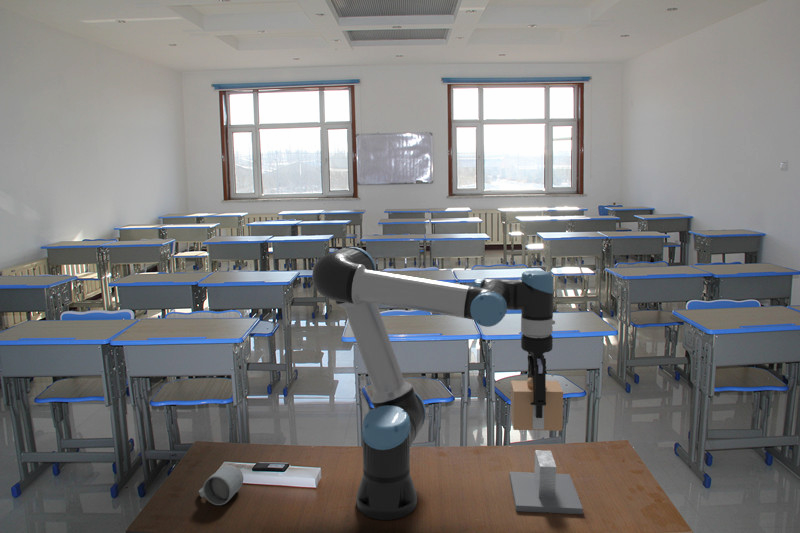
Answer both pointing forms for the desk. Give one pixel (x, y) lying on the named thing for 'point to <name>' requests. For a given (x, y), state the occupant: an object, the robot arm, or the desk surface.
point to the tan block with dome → (524, 409)
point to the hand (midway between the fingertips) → (535, 421)
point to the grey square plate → (544, 488)
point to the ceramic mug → (222, 485)
